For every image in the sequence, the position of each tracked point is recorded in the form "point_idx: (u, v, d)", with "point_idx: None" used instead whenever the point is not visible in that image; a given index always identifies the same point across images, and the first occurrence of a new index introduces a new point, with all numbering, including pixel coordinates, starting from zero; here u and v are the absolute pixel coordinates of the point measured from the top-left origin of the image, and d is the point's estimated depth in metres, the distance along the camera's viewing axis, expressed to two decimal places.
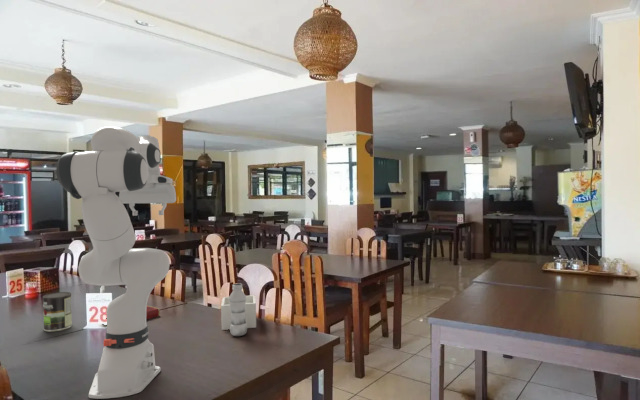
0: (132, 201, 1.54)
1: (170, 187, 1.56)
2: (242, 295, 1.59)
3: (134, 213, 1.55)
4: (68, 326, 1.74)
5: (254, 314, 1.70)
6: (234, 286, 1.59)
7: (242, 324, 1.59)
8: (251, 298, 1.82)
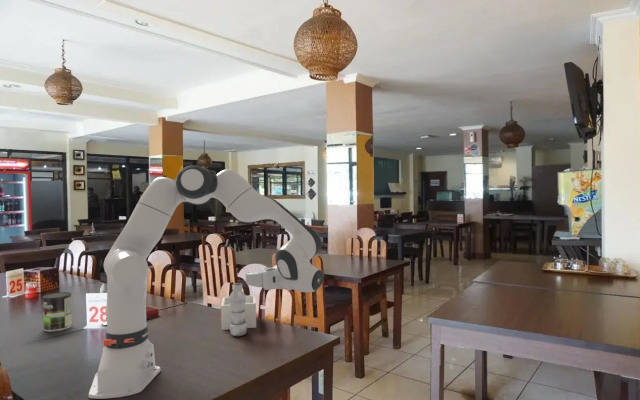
0: None
1: (258, 272, 1.40)
2: (242, 295, 1.59)
3: (267, 268, 1.57)
4: (68, 326, 1.74)
5: (254, 314, 1.70)
6: (234, 286, 1.59)
7: (242, 324, 1.59)
8: (251, 298, 1.82)
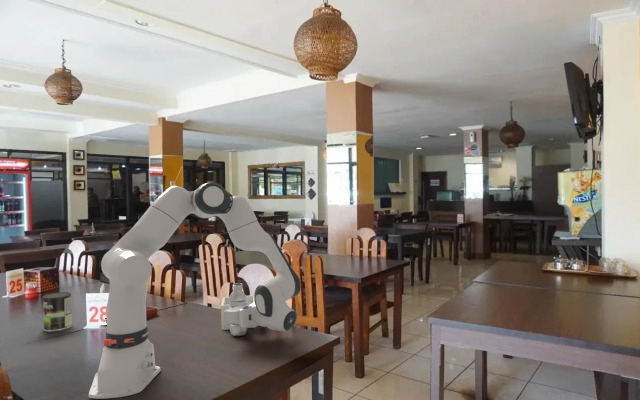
0: None
1: (235, 310, 1.48)
2: (242, 295, 1.59)
3: None
4: (68, 326, 1.74)
5: None
6: (234, 286, 1.59)
7: None
8: (251, 298, 1.82)
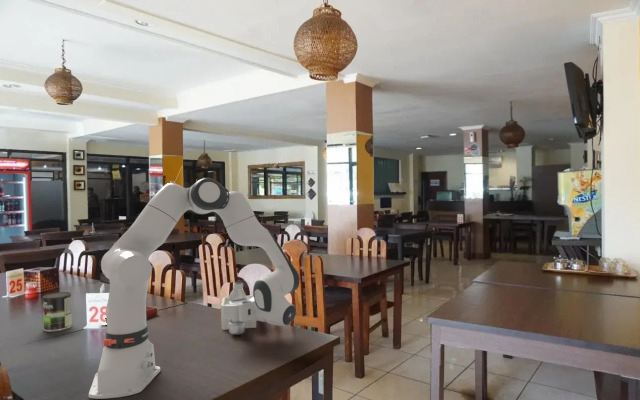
0: None
1: (235, 304, 1.47)
2: (242, 294, 1.59)
3: None
4: (68, 326, 1.74)
5: None
6: (235, 285, 1.58)
7: (241, 323, 1.59)
8: None
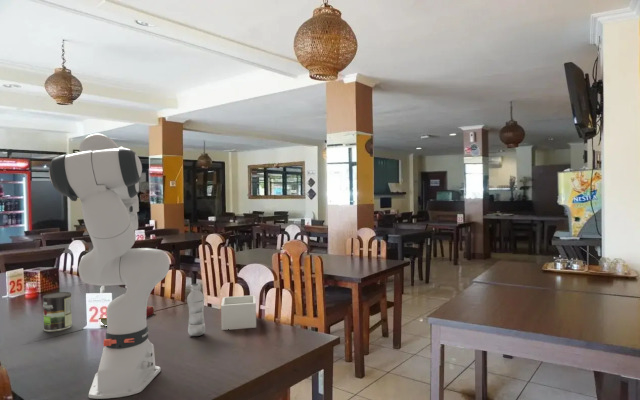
0: None
1: None
2: (200, 295, 1.60)
3: None
4: (68, 326, 1.74)
5: (254, 314, 1.70)
6: (192, 286, 1.60)
7: (200, 324, 1.60)
8: (251, 298, 1.82)
